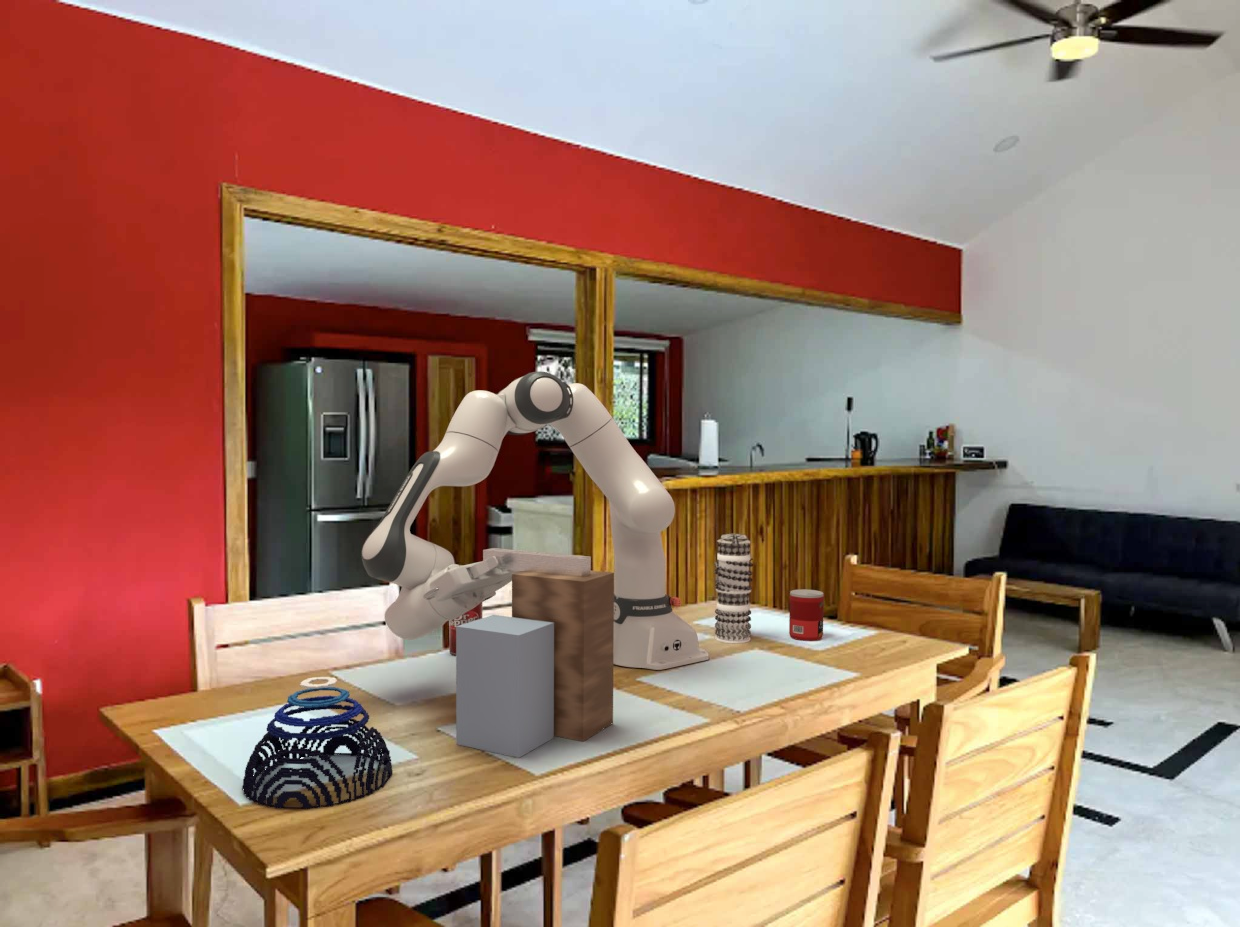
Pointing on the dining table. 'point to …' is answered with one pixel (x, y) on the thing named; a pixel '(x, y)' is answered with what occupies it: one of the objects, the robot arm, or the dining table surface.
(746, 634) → the decorative candle
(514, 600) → the walnut post
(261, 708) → the dining table surface
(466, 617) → the soda can
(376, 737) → the navy layered dome
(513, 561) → the pale speckled beam
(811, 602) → the canned food
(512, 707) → the slate-blue post
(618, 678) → the dining table surface
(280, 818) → the dining table surface
